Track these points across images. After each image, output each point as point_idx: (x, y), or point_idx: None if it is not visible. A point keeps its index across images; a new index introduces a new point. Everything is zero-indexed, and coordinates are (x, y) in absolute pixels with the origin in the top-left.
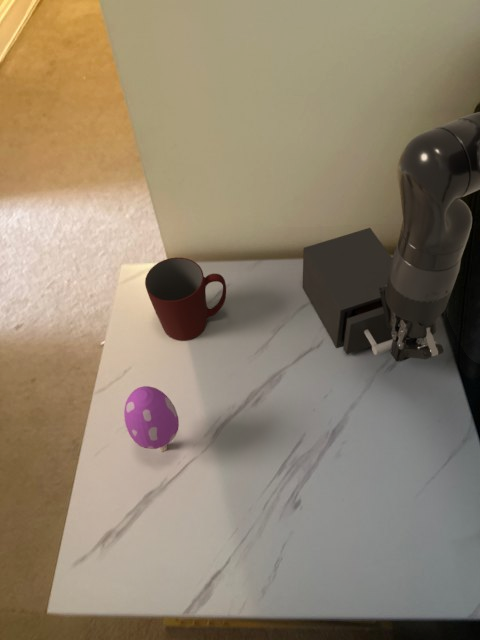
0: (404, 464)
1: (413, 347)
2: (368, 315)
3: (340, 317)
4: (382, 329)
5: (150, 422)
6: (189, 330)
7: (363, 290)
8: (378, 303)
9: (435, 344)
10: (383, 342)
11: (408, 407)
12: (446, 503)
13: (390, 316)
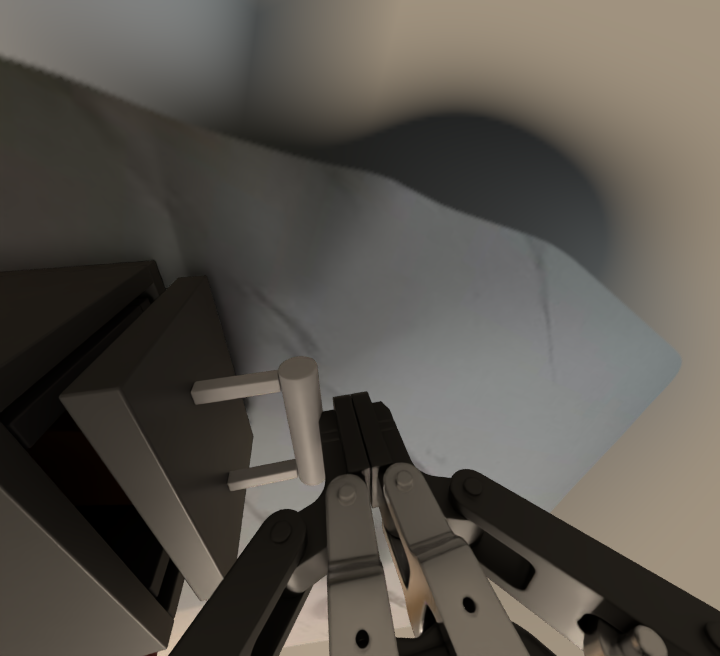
0: (507, 382)
1: (468, 537)
2: (196, 560)
3: (181, 588)
4: (217, 414)
5: None
6: (152, 654)
7: (22, 617)
8: (81, 439)
9: (672, 650)
10: (298, 458)
11: (420, 341)
12: (591, 344)
13: (283, 633)
